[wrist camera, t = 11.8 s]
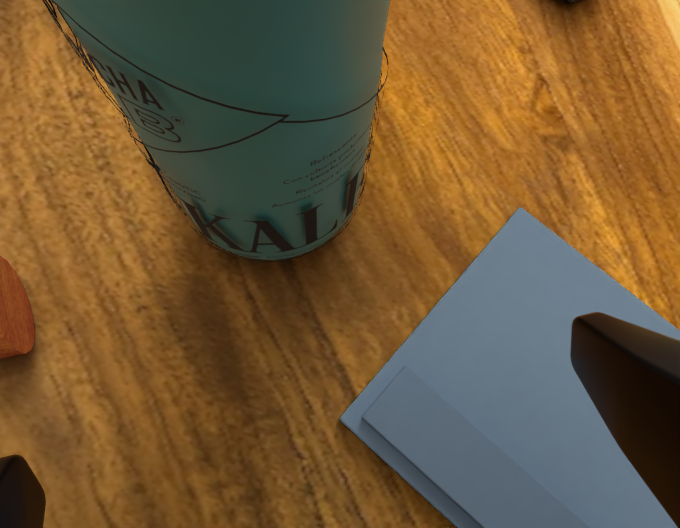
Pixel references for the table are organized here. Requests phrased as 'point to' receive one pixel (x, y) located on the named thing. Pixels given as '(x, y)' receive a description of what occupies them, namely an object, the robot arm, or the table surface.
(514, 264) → the grey-blue flat slab
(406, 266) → the table surface
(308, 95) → the beverage bottle
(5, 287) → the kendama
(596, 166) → the table surface
